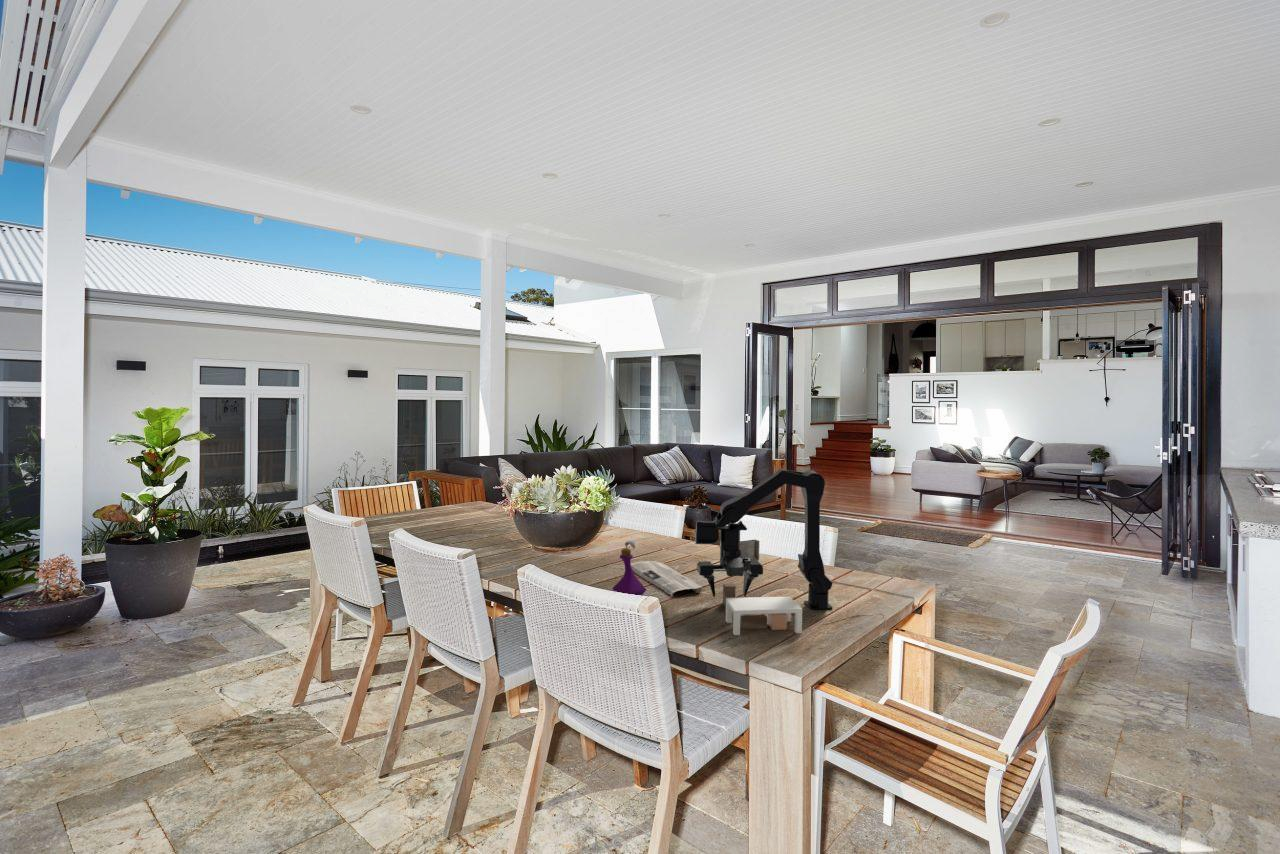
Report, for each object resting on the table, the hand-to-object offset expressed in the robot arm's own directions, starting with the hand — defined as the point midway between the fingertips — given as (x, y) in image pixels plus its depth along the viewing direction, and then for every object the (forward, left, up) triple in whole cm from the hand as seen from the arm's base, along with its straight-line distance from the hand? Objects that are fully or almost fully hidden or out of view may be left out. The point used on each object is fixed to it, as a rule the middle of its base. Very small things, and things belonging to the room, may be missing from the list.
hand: (729, 596), depth 191 cm
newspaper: (-26, -15, -3) cm, 30 cm away
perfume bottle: (-7, -29, -3) cm, 30 cm away
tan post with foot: (+9, +2, -2) cm, 9 cm away
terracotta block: (+18, +9, -3) cm, 20 cm away
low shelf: (+18, +5, -2) cm, 19 cm away
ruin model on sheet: (-47, +17, -3) cm, 50 cm away
